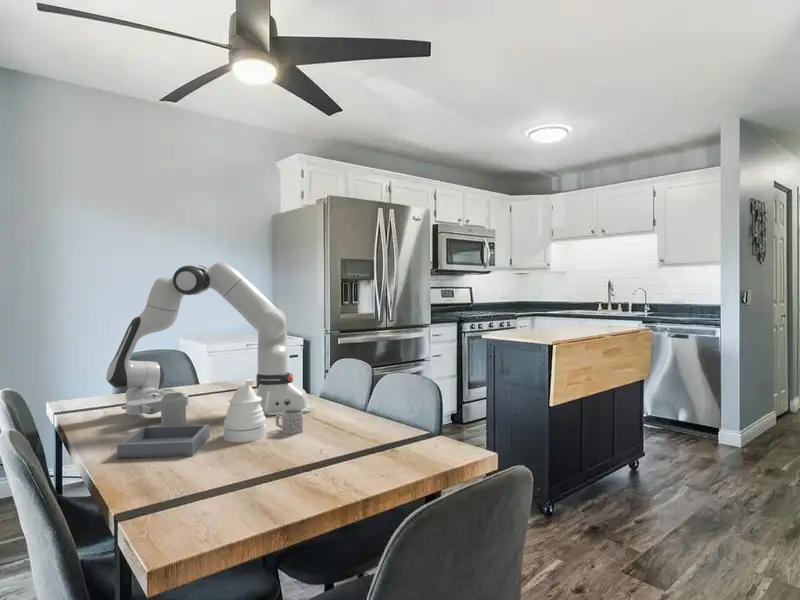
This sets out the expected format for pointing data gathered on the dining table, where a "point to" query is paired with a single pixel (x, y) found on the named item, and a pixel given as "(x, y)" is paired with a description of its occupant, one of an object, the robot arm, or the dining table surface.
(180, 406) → the can
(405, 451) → the dining table surface
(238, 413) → the honey pot
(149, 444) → the tray
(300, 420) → the mug
